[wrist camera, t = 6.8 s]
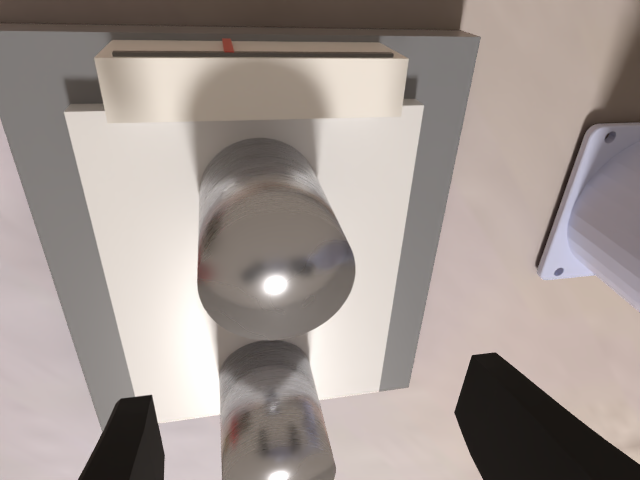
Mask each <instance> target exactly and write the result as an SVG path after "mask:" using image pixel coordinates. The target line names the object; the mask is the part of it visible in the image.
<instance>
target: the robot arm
mask: <svg viewBox="0 0 640 480" xmlns="http://www.w3.org/2000/svg"><path fill="white" fill-rule="evenodd" d="M608 133H609V135H608V137H607V138H606V139H605V137H606V135H607V134H608ZM537 274H538V276H539V277H540V278H542V279H543V280H553V279H563V278H573V277H583V276H592V275H596V276H597V277H598V278H599V279H601V280H602V281H603V282H604V283H605V284H607V285H608V286H609V287H610V288H611V289H612V290H614V291H615V292H616V293H617V294H618V295H620V296H621V297H622V298H623V299H624V300H626V301H627V302H628V303H629V304H630V305H632V306H633V307H634V308H635V309H636V310H637V311H639V312H640V122H638V123H603V124H595V125H593V126H591V127H590V128H589V129H588V130H587V131H586V133H585V135H584V138H583V141H582V144H581V147H580V149H579V152H578V155H577V158H576V161H575V164H574V167H573V169H572V172H571V175H570V178H569V181H568V184H567V186H566V189H565V192H564V195H563V198H562V201H561V204H560V206H559V209H558V212H557V215H556V218H555V221H554V224H553V226H552V229H551V232H550V235H549V238H548V241H547V243H546V246H545V249H544V252H543V255H542V258H541V261H540V263H539V266H538V269H537ZM454 413H455V415H456V418H457V421H458V424H459V426H460V429H461V432H462V435H463V437H464V440H465V442H466V445H467V447H468V450H469V452H470V455H471V457H472V459H473V461H474V463H475V465H476V466H477V468H478V470H479V472H480V474H481V476H482V478H483V480H640V464H638V463H637V462H635V461H634V460H633V459H631V458H630V457H628V456H627V455H626V454H624V453H623V452H622V451H620V450H619V449H617V448H616V447H615V446H613V445H612V444H610V443H609V442H608V441H606V440H605V439H604V438H602V437H601V436H600V435H598V434H597V433H596V432H594V431H593V430H592V429H590V428H589V427H588V426H587V425H585V424H584V423H583V422H581V421H580V420H579V419H578V418H576V417H575V416H574V415H572V414H571V413H570V412H569V411H567V410H566V409H565V408H564V407H562V406H561V405H560V404H559V403H557V402H556V401H555V400H554V399H552V398H551V397H550V396H549V395H548V394H546V393H545V392H544V391H543V390H541V389H540V388H539V387H538V386H536V385H535V384H534V383H533V382H532V381H530V380H529V379H528V378H527V377H525V376H524V375H523V374H522V373H521V372H519V371H518V370H517V369H516V368H514V367H513V366H512V365H511V364H509V363H508V362H507V361H506V360H504V359H503V358H502V357H501V356H499V355H498V354H497V353H487V354H479V355H472V357H471V360H470V363H469V367H468V370H467V373H466V376H465V380H464V383H463V386H462V389H461V393H460V396H459V399H458V402H457V406H456V409H455V412H454ZM164 458H165V455H164V450H163V445H162V440H161V436H160V431H159V426H158V421H157V416H156V411H155V406H154V402H153V397H152V395H145V396H137V397H129V398H121V399H120V400H119V401H118V402H116V404H115V406H114V408H113V411H112V413H111V415H110V418H109V420H108V422H107V424H106V426H105V428H104V430H103V432H102V434H101V437H100V439H99V441H98V443H97V445H96V447H95V449H94V450H93V452H92V454H91V456H90V458H89V460H88V462H87V464H86V466H85V468H84V470H83V471H82V473H81V475H80V477H79V479H78V480H164Z"/></svg>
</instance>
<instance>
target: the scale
mask: <svg viewBox="0 0 640 480" xmlns="http://www.w3.org/2000/svg"><path fill="white" fill-rule="evenodd" d="M480 38H481V37H479V36H476V35H473V34H470V33H467V32H464V31H461V30H410V29H346V28H282V27H218V26H154V25H90V24H26V23H0V118H1V121H2V124H3V128H4V131H5V134H6V137H7V140H8V143H9V146H10V149H11V152H12V155H13V158H14V161H15V164H16V168H17V171H18V174H19V177H20V180H21V183H22V186H23V189H24V192H25V195H26V198H27V201H28V204H29V208H30V211H31V214H32V217H33V220H34V223H35V226H36V229H37V232H38V235H39V238H40V241H41V244H42V248H43V251H44V254H45V257H46V260H47V263H48V266H49V269H50V272H51V275H52V278H53V281H54V284H55V288H56V291H57V294H58V297H59V300H60V303H61V306H62V309H63V312H64V315H65V318H66V321H67V324H68V328H69V331H70V334H71V337H72V340H73V343H74V346H75V349H76V352H77V355H78V358H79V361H80V364H81V368H82V371H83V374H84V377H85V380H86V383H87V386H88V389H89V392H90V395H91V398H92V401H93V404H94V408H95V411H96V414H97V417H98V420H99V423H100V426H101V429H102V431H103V430H104V428H105V426H106V424H107V422H108V420H109V418H110V415H111V413H112V411H113V408H114V406H115V404H116V402H118V401H119V400H120V399H121V398H129V397H137V396H145V395H152V397H153V402H154V406H155V411H156V416H157V421H158V423H165V422H172V421H179V420H186V419H193V418H200V417H207V416H214V415H220V392H219V373H220V369H221V366H222V365H223V363H224V361H225V360H226V359H227V358H228V357H229V356H230V355H231V354H232V353H233V352H234V351H236V350H237V349H239V348H241V347H243V346H245V345H247V344H250V343H253V342H257V341H262V340H255V339H250V338H245V337H242V336H239V335H236V334H234V333H232V332H229V331H227V330H226V329H224V328H223V327H221V326H220V325H218V324H217V323H216V322H215V321H214V320H213V319H212V318H211V317H210V316H209V315H208V314H207V312H206V310H205V309H204V307H203V305H202V303H201V301H200V298H199V294H198V287H197V267H198V227H199V190H200V183H201V179H202V176H203V173H204V171H205V169H206V167H207V166H208V164H209V163H210V161H211V160H212V159H213V158H214V157H215V156H216V155H217V154H218V153H219V152H220V151H222V150H223V149H224V148H226V147H228V146H229V145H231V144H233V143H236V142H238V141H241V140H245V139H250V138H270V139H275V140H279V141H282V142H284V143H287V144H289V145H290V146H292V147H294V148H295V149H297V150H298V151H299V152H300V153H301V154H302V155H303V156H304V157H305V158H306V159H307V160H308V162H309V163H310V165H311V167H312V169H313V170H314V173H315V175H316V177H317V179H318V181H319V183H320V185H321V187H322V189H323V191H324V193H325V195H326V197H327V199H328V202H329V204H330V206H331V208H332V210H333V212H334V214H335V216H336V218H337V220H338V222H339V224H340V226H341V228H342V230H343V233H344V235H345V237H346V239H347V241H348V243H349V245H350V247H351V249H352V252H353V255H354V259H355V272H356V273H355V280H354V284H353V287H352V290H351V292H350V294H349V296H348V298H347V300H346V301H345V303H344V304H343V306H342V307H341V308H340V309H339V311H338V312H337V313H336V314H335V315H333V316H332V317H331V318H330V319H329V320H328V321H326V322H325V323H324V324H322V325H320V326H319V327H317V328H315V329H313V330H311V331H309V332H307V333H304V334H302V335H299V336H296V337H292V338H287V339H282V341H286V342H289V343H292V344H294V345H296V346H298V347H299V348H301V349H302V350H303V351H304V352H305V354H306V355H307V357H308V359H309V362H310V366H311V370H312V374H313V378H314V382H315V386H316V390H317V394H318V398H319V400H325V399H332V398H339V397H346V396H353V395H360V394H367V393H374V392H380V391H387V390H394V389H401V388H408V387H409V383H410V378H411V373H412V368H413V363H414V358H415V353H416V349H417V344H418V339H419V334H420V329H421V324H422V319H423V315H424V310H425V305H426V300H427V295H428V290H429V286H430V281H431V276H432V271H433V266H434V261H435V256H436V252H437V247H438V242H439V237H440V232H441V227H442V222H443V218H444V213H445V208H446V203H447V198H448V193H449V188H450V184H451V179H452V174H453V169H454V164H455V159H456V154H457V150H458V145H459V140H460V135H461V130H462V125H463V121H464V116H465V111H466V106H467V101H468V96H469V91H470V87H471V82H472V77H473V72H474V67H475V62H476V57H477V53H478V48H479V43H480Z"/></svg>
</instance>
